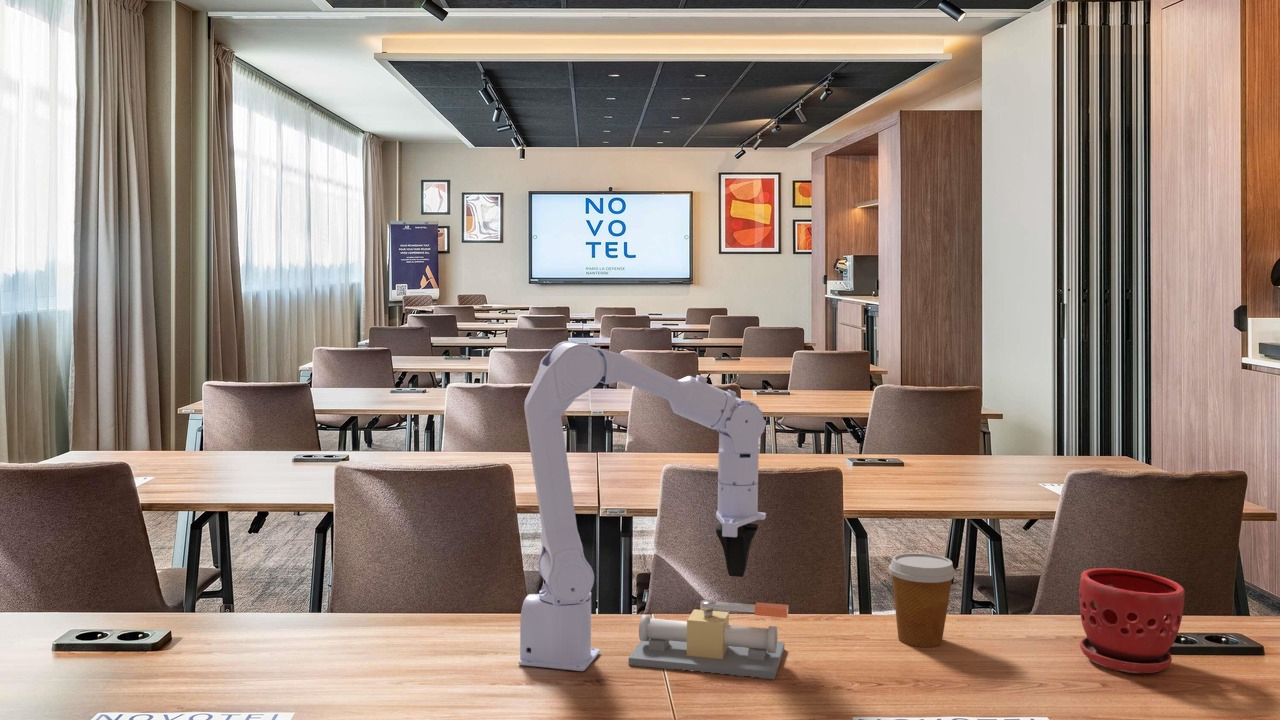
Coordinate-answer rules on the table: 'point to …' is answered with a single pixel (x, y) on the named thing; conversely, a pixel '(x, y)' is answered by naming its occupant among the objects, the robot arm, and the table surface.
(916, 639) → the disposable coffee cup
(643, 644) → the valve board
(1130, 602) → the plant pot
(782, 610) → the valve lever
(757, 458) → the robot arm
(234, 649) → the table surface
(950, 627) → the table surface
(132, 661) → the table surface
